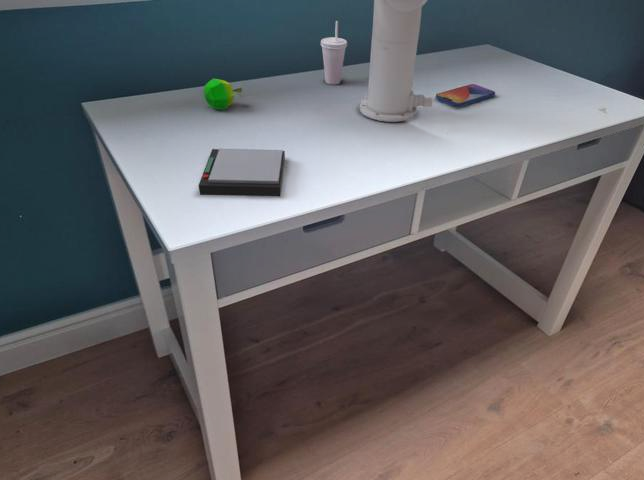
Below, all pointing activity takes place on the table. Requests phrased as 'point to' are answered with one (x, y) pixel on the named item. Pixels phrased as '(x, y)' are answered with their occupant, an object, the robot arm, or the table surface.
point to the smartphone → (465, 95)
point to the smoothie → (333, 57)
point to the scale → (243, 172)
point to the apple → (219, 94)
